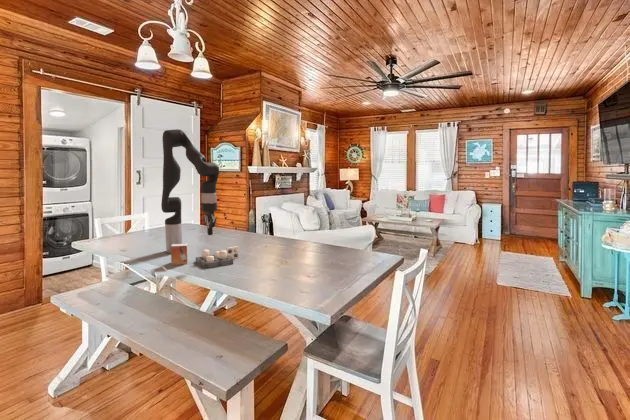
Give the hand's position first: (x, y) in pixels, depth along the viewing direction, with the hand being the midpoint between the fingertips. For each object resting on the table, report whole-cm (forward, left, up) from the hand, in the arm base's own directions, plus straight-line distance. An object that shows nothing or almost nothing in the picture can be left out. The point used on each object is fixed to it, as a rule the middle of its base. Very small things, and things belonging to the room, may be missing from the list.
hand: (210, 234), depth 177 cm
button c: (-6, -1, -14) cm, 15 cm away
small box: (-13, -12, -17) cm, 24 cm away
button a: (+1, -1, -16) cm, 16 cm away
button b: (+1, +6, -14) cm, 15 cm away
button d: (-6, +6, -16) cm, 18 cm away
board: (-3, +3, -17) cm, 17 cm away
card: (-5, +14, -17) cm, 22 cm away
